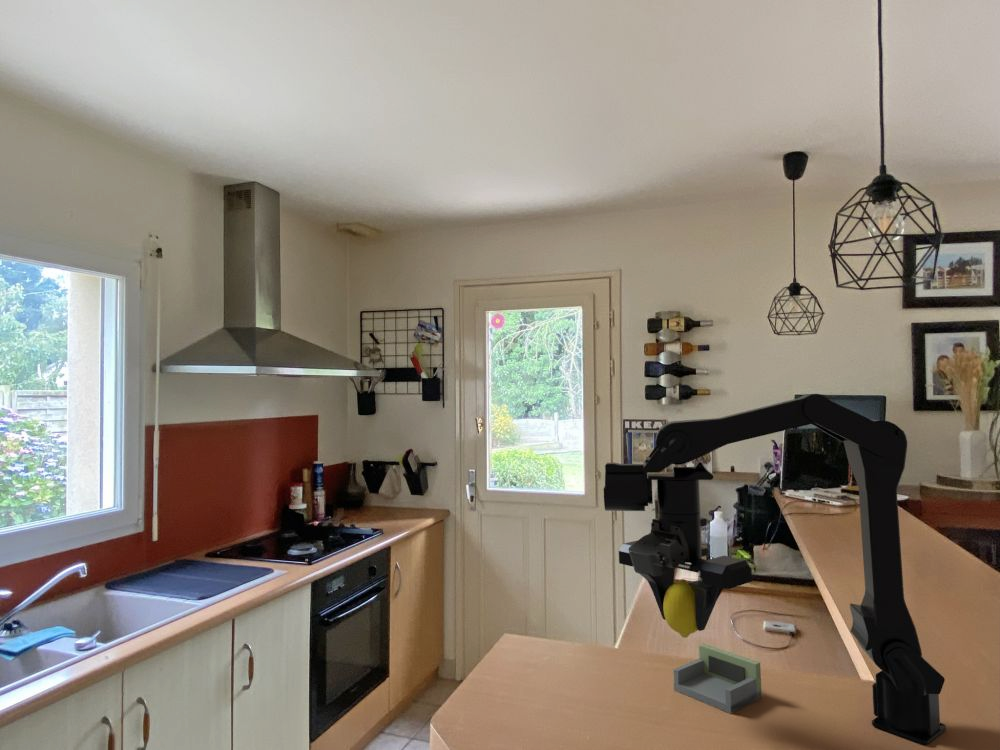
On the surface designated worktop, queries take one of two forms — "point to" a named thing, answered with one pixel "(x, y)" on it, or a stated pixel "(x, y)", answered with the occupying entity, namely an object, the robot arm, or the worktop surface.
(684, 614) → the lemon
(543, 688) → the worktop surface
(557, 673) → the worktop surface
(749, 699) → the miniature couch
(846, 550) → the worktop surface
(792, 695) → the worktop surface
